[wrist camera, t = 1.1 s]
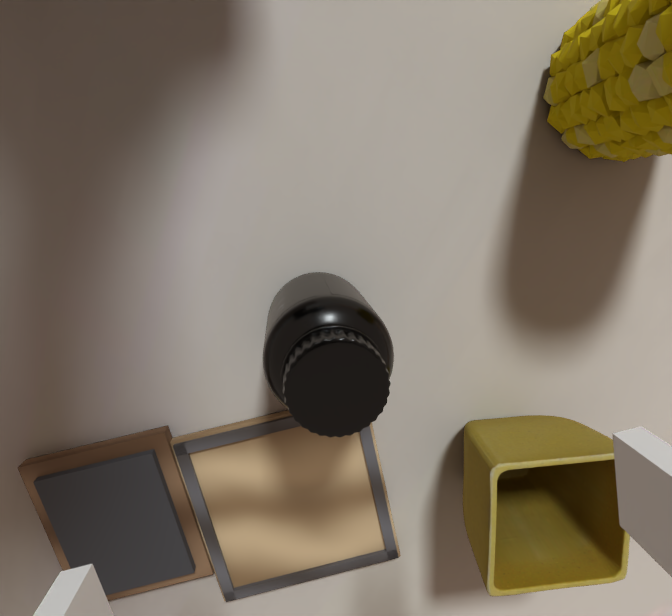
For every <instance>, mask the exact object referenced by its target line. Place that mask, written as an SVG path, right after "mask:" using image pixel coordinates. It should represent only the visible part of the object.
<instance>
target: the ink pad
mask: <svg viewBox="0 0 672 616" xmlns="http://www.w3.org/2000/svg"><path fill="white" fill-rule="evenodd" d="M33 483H34V485H35V488H36V490H37V492H38V495H39V497H40V499H41V501H42V504H43V506H44V508H45V511H46V513H47V515H48V518H49V520H50V522H51V524H52V527H53V529H54V531H55V534H56V536H57V538H58V540H59V543H60V545H61V547H62V550H63V552H64V554H65V556H66V559H67V561H68V563H69V566H70V568H71V569H73V568H77V567H81V566H85V565H89V564H93V566H94V569H95V571H96V573H97V576H98V578H99V581H100V583H101V585H102V588H103V590H104V593H105V595H109V594H113V593H117V592H121V591H125V590H129V589H133V588H137V587H141V586H145V585H149V584H153V583H157V582H161V581H165V580H169V579H173V578H177V577H181V576H184V575H188V574H192V573H194V572H195V568H196V565H195V563H194V560H193V557H192V554H191V551H190V548H189V546H188V543H187V540H186V537H185V534H184V531H183V529H182V526H181V523H180V520H179V517H178V514H177V512H176V509H175V506H174V503H173V500H172V497H171V495H170V492H169V489H168V486H167V483H166V480H165V478H164V475H163V472H162V469H161V466H160V463H159V461H158V458H157V455H156V452H155V449H151V450H147V451H143V452H139V453H135V454H131V455H127V456H122V457H118V458H114V459H110V460H106V461H102V462H98V463H94V464H89V465H85V466H81V467H77V468H73V469H69V470H65V471H60V472H56V473H52V474H48V475H44V476H40V477H37V478H36V480H35V481H34V482H33Z"/></svg>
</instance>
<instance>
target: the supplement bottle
mask: <svg viewBox="0 0 672 616" xmlns="http://www.w3.org/2000/svg"><path fill="white" fill-rule="evenodd" d="M393 362H394V352H393V345H392V341H391V337H390V335H389V332H388V330H387V328H386V326H385V325H384V323H383V321H382V320H381V319H380V317H379V316H378V315H377V314H376V312H375V311H374V310H373V309H372V307H371V306H370V305H369V304H368V302H367V301H366V300H365V299H364V297H363V296H362V295H361V294H360V293H359V291H358V290H357V289H356V288H355V287H354V286H353V285H352V284H350V283H349V282H348V281H346V280H345V279H343V278H341V277H339V276H336V275H333V274H329V273H322V272H315V273H308V274H304V275H301V276H299V277H296V278H294V279H293V280H291V281H290V282H288V283H287V284H286V285H284V286H283V287H282V288H281V289H280V291H279V292H278V293H277V295H276V296H275V298H274V300H273V302H272V304H271V306H270V309H269V313H268V319H267V326H266V334H265V342H264V350H263V367H264V373H265V377H266V380H267V383H268V385H269V387H270V389H271V391H272V392H273V394H274V396H275V397H276V398H277V399H278V401H279V402H280V403H281V404H282V405H284V406H285V407H286V408H287V409H288V410H289V413H290V414H291V415H293V417H294V420H295V421H296V422H298V423H300V425H301V426H302V428H305V429H308V430H309V431H310V432H311V433H317V434H318V435H319V436H328V437H330V438H331V437H335V436H336V437H343V436H345V435H347V436H351V435H352V434H354V433H356V432H360V431H362V429H363V428H366V427H368V426H369V425H370V424H371V422H373V421H375V420H376V419H377V417H378V415H379V414H380V413H381V412H382V411H383V407H384V406H385V405H386V403H387V397H388V396H389V394H390V392H389V386H390V381H389V379H390V376H391V373H392V369H393Z"/></svg>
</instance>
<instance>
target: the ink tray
mask: <svg viewBox="0 0 672 616" xmlns="http://www.w3.org/2000/svg"><path fill="white" fill-rule="evenodd" d="M171 440H172V436H171V433H170V430H169V427H168V426H164V427H160V428H156V429H151V430H147V431H143V432H139V433H135V434H131V435H126V436H122V437H118V438H114V439H110V440H106V441H101V442H97V443H93V444H89V445H85V446H81V447H76V448H72V449H68V450H64V451H60V452H56V453H52V454H47V455H43V456H39V457H35V458H31V459H27V460H25V461H24V462H23V463H22V464H21V465H20V466H19V467H18V470H19V472H20V474H21V477H22V479H23V481H24V484H25V486H26V488H27V490H28V493H29V495H30V497H31V499H32V502H33V504H34V506H35V508H36V511H37V513H38V515H39V517H40V520H41V522H42V524H43V527H44V529H45V531H46V533H47V536H48V538H49V540H50V542H51V545H52V547H53V549H54V551H55V554H56V556H57V558H58V560H59V563H60V565H61V567H62V569H63V571H65V570H69V569H71V568H70V566H69V563H68V561H67V559H66V556H65V554H64V552H63V550H62V547H61V545H60V543H59V540H58V538H57V536H56V534H55V531H54V529H53V527H52V524H51V522H50V520H49V518H48V515H47V513H46V511H45V508H44V506H43V504H42V501H41V499H40V497H39V495H38V492H37V490H36V488H35V485H34V483H33V482H34V481H35V480H36V478H37V477H40V476H44V475H48V474H52V473H56V472H60V471H65V470H69V469H73V468H77V467H81V466H85V465H89V464H94V463H98V462H102V461H106V460H110V459H114V458H118V457H122V456H127V455H131V454H135V453H139V452H143V451H147V450H151V449H155V452H156V455H157V458H158V461H159V463H160V466H161V469H162V472H163V475H164V478H165V480H166V483H167V486H168V489H169V492H170V495H171V497H172V500H173V503H174V506H175V509H176V512H177V514H178V517H179V520H180V523H181V526H182V529H183V531H184V534H185V537H186V540H187V543H188V546H189V548H190V551H191V554H192V557H193V560H194V563H195V565H196V568H195V572H194V573H192V574H188V575H184V576H181V577H177V578H173V579H169V580H165V581H161V582H157V583H153V584H149V585H145V586H141V587H137V588H133V589H129V590H125V591H121V592H117V593H113V594H109V595H106V597H107V600H108V601H109V600H113V599H117V598H121V597H125V596H129V595H133V594H137V593H141V592H145V591H149V590H152V589H156V588H160V587H164V586H168V585H172V584H176V583H180V582H184V581H188V580H192V579H196V578H200V577H204V576H208V575H212V574H213V572H214V569H213V566H212V563H211V560H210V557H209V554H208V551H207V548H206V545H205V543H204V540H203V537H202V534H201V531H200V528H199V525H198V522H197V519H196V516H195V513H194V510H193V508H192V505H191V502H190V499H189V496H188V493H187V490H186V487H185V484H184V481H183V478H182V475H181V472H180V470H179V467H178V464H177V461H176V458H175V455H174V452H173V449H172V446H171V443H170V442H171Z"/></svg>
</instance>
